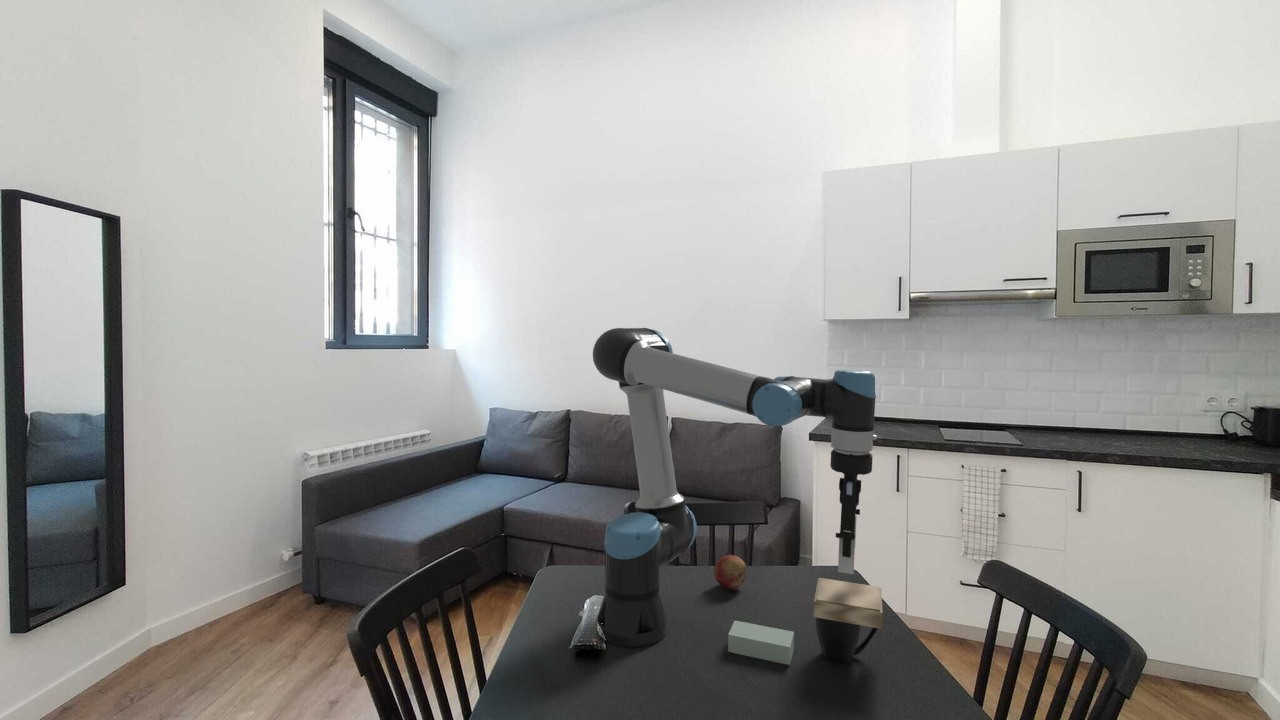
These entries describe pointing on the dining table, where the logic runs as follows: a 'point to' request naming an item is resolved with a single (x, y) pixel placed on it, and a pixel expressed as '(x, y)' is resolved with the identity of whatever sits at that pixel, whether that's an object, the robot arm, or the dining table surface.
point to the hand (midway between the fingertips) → (847, 558)
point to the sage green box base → (761, 642)
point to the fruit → (730, 571)
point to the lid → (848, 603)
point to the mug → (840, 640)
